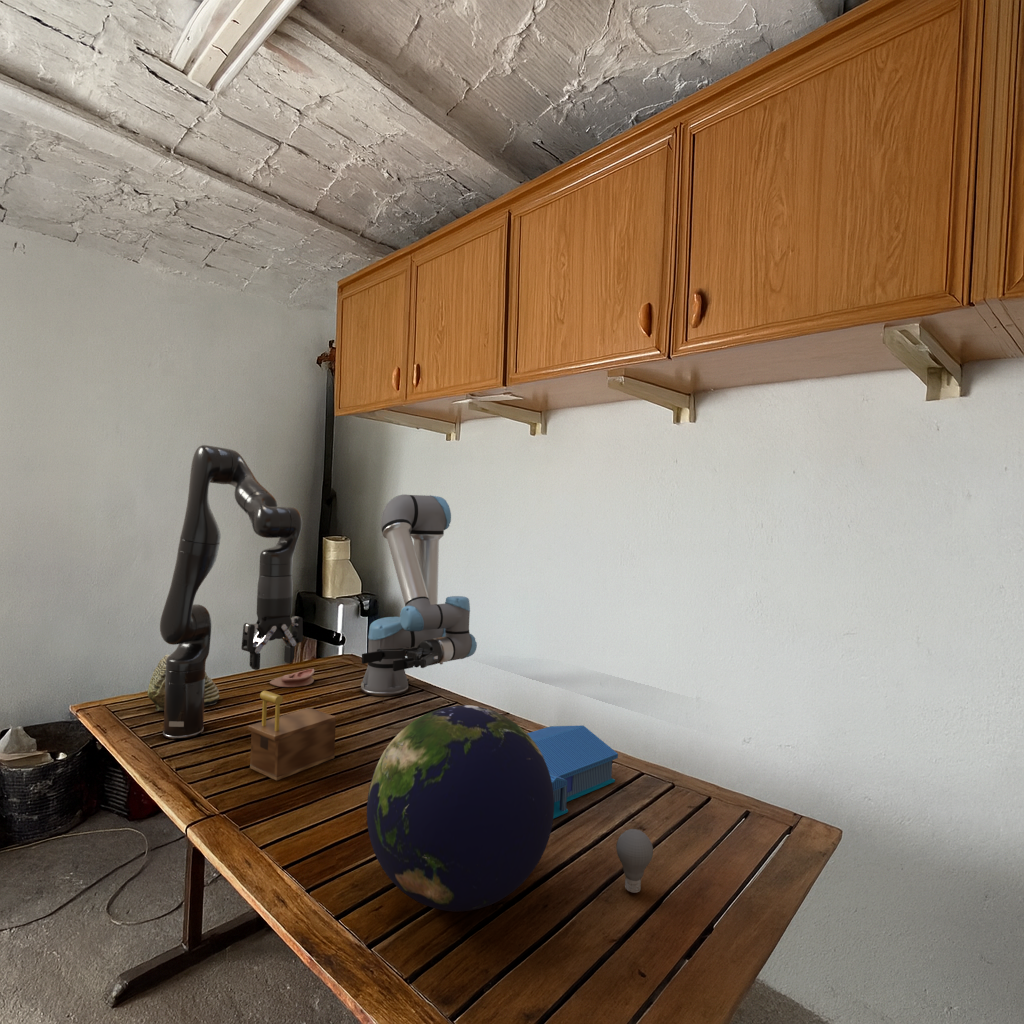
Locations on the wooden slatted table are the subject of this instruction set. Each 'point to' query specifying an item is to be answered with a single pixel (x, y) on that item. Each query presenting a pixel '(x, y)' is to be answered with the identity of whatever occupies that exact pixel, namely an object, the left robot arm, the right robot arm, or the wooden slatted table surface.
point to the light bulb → (634, 857)
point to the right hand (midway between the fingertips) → (377, 662)
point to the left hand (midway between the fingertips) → (272, 665)
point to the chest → (292, 751)
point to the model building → (574, 762)
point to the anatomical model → (294, 679)
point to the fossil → (158, 687)
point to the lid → (287, 719)
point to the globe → (460, 808)
